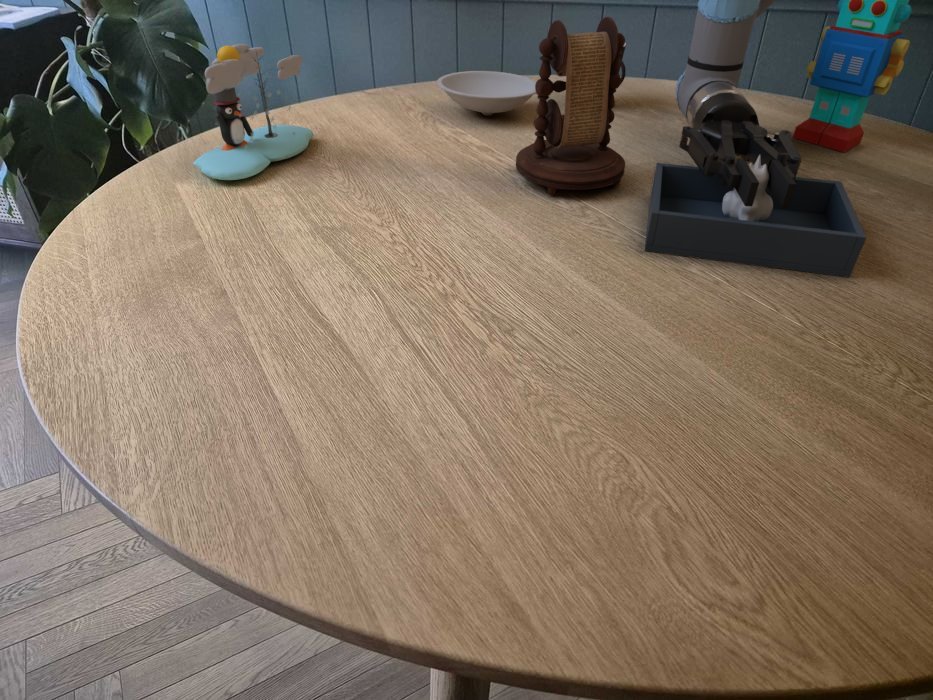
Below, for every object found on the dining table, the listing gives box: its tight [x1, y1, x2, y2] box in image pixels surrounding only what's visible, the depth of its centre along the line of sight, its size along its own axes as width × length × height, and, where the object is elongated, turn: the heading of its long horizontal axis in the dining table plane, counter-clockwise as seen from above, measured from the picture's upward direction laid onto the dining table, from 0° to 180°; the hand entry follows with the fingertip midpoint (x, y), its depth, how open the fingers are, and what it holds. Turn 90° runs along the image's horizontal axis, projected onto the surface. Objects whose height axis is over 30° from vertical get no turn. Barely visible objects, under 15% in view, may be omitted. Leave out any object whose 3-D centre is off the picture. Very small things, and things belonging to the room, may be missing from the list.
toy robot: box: [792, 0, 912, 153], centre depth 95 cm, size 12×6×25 cm, turn 42°
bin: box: [644, 162, 867, 278], centre depth 77 cm, size 22×15×5 cm
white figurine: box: [722, 155, 773, 222], centre depth 75 cm, size 5×7×8 cm
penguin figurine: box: [192, 43, 314, 181], centre depth 91 cm, size 20×11×15 cm, turn 152°
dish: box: [436, 70, 537, 116], centre depth 111 cm, size 18×14×5 cm
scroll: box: [515, 16, 626, 197], centre depth 85 cm, size 15×15×20 cm
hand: (770, 195), depth 70 cm, fingers closed on white figurine, 3 cm apart
